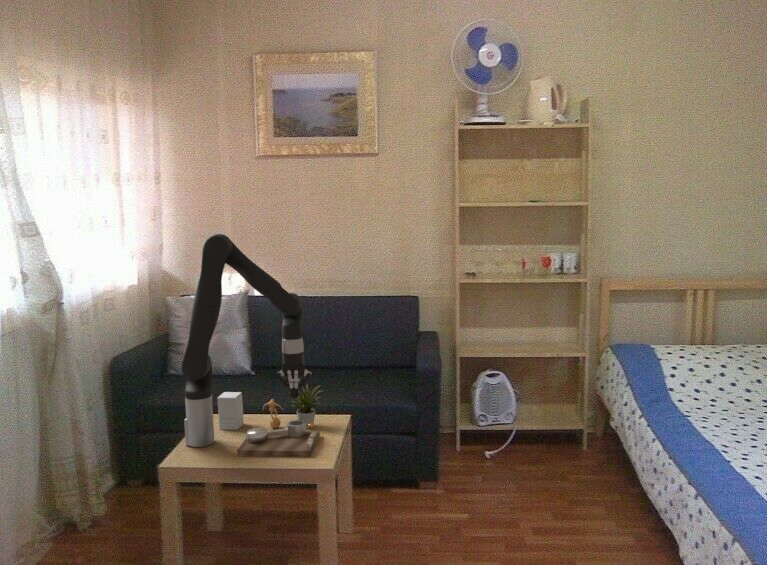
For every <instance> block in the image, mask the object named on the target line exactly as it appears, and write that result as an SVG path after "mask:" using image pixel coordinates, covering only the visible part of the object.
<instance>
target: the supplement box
mask: <svg viewBox="0 0 767 565" xmlns="http://www.w3.org/2000/svg"><path fill="white" fill-rule="evenodd" d="M216 399H217V400H216V401H217V412H218V415H217V416H218V424H219V425H218V426H219V428H218V429H219V430H221V431H222V430H223V431H224V430H225V431H227V430H229V431H231V430H232V431H238V430H239V429H240V428H241V427H242V426H243V425H244V424H245V422H244V421H245V420H244V408H243V404H244V403H243V392H242V391H235V392H234V391H224V392H222V393H221V394H220V395H219V396H218V397H217V398H216Z"/></svg>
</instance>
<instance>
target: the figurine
mask: <svg viewBox="0 0 767 565" xmlns="http://www.w3.org/2000/svg"><path fill="white" fill-rule="evenodd" d="M274 400H275V399H274V398H271V400H270V401H268V402H267V403H264V404H263V407H262V411H264V410H265V406H269V409H268V410H269V411H270V417H271V419H270V421H269V426H270V427H271V429H277V428H278V429H279V427H280V426H281V420H280V419H279V418H278V417H277V416H278V415H277V414H278V410H277V408H275V407H276V406H277V407H279V408H280V409H281V410H282V411H283V412H285V410H284V408H283V407H282V406H281V405H280V404H278V403H277V402H275V401H274ZM273 412H274V414H273ZM273 415H274V416H273Z"/></svg>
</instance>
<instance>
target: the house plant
mask: <svg viewBox="0 0 767 565" xmlns="http://www.w3.org/2000/svg"><path fill="white" fill-rule="evenodd" d="M322 386H323V385H318V386H315V388H313V389H312V390H310V388H309V387H308V384H306V385H305V388H304V385H303V386H302V387H301V388H302V390H303V395H302V393H301V391H300V390H299V396H298V397H297V399H296V400H297V401H298V402H297V401H294V400H290V402H292V403H293V404H292V405H291V407H295V408H297V410H296V415H297V420H303V421H305V422H306V426H307V425H308V424H310V423H312V424H313V427H314V424H315V418H316V417H315V416H316V409H315V407H316V408H319V407H318V405H319V406H320V405H321V404H320V402H319V401H318V399H319V398H320V396H317V395H318V394H319V393H320V392H321V393H322V392H323V389H320V390H318V389H319V387H322ZM317 390H318V391H317ZM316 391H317V392H316ZM315 392H316V393H315ZM314 393H315V394H314ZM316 401H317V402H316ZM313 407H314V408H313ZM306 430H310V429H309V427H306Z"/></svg>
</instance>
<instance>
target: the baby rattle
mask: <svg viewBox="0 0 767 565" xmlns="http://www.w3.org/2000/svg"><path fill="white" fill-rule="evenodd" d="M285 424H286V425H285V427H284V428H278V429H277V428H276V429H271V430H268V429H267V428H264V427H253V428H250V429H248V430H246V438H247V441H248V442H250V443H261V442H264V441H266V440H267V437H270V436H277V435H284V434H287V435H288V436H289V437H301V436H304V435H305V434H306V431H307V429H306V427H309V428H310V429H312V427H313V428H314V426H313V424H312V423H310V424H308V425H307V426H306V422H305V421H303V420H298V419H292V420H289V421H287V422H286V423H285Z"/></svg>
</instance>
